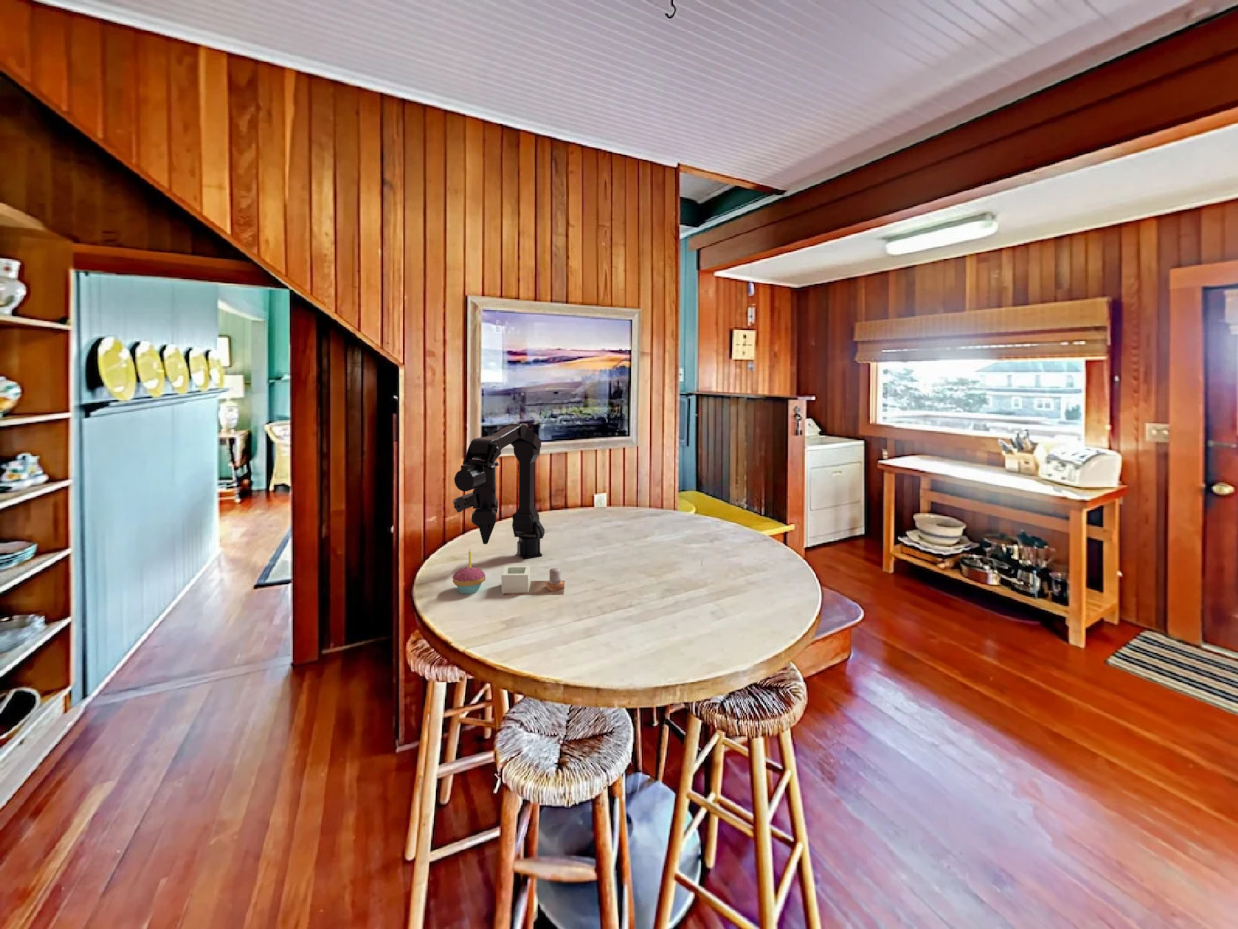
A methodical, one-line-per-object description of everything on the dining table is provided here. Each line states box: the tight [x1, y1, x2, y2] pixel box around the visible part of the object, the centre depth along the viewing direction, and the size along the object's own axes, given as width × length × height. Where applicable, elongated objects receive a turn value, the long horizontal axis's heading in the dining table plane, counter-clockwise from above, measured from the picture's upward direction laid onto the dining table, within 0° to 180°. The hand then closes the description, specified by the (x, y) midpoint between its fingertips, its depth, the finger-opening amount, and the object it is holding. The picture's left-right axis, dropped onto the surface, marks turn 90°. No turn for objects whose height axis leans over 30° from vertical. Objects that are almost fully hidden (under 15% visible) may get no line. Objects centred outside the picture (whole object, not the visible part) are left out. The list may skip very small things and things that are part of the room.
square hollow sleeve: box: [500, 565, 532, 594], centre depth 153 cm, size 7×7×5 cm
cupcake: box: [452, 550, 486, 594], centre depth 151 cm, size 9×8×12 cm
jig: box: [502, 567, 566, 596], centre depth 153 cm, size 16×10×6 cm, turn 94°
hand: (486, 539), depth 157 cm, fingers open, 9 cm apart
